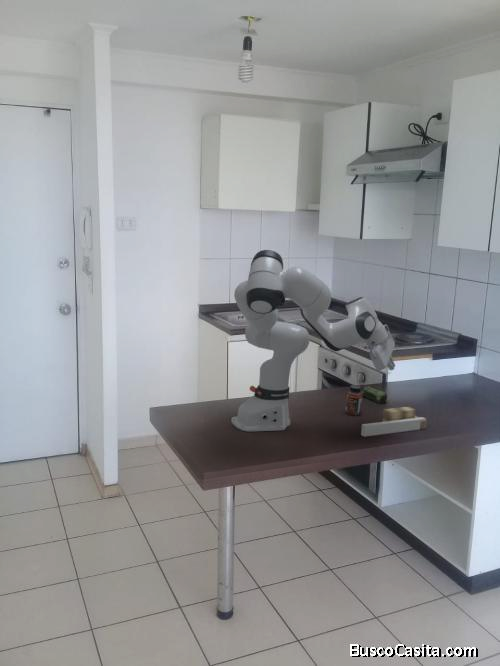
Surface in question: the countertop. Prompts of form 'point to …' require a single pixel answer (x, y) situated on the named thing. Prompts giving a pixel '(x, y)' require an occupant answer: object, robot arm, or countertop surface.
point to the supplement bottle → (354, 401)
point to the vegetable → (374, 394)
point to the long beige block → (398, 414)
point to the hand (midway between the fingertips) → (392, 368)
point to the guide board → (393, 426)
